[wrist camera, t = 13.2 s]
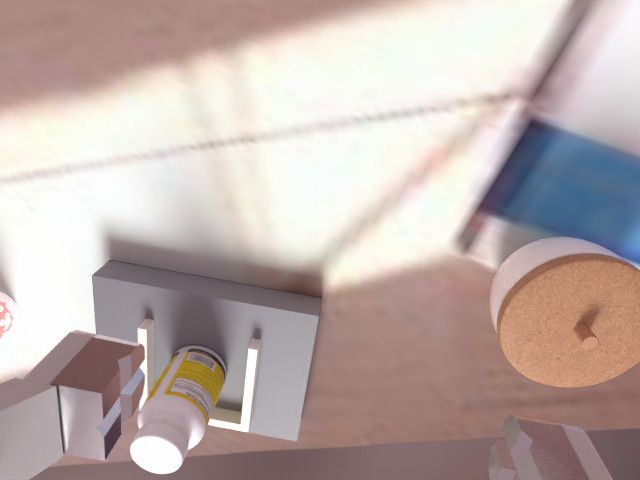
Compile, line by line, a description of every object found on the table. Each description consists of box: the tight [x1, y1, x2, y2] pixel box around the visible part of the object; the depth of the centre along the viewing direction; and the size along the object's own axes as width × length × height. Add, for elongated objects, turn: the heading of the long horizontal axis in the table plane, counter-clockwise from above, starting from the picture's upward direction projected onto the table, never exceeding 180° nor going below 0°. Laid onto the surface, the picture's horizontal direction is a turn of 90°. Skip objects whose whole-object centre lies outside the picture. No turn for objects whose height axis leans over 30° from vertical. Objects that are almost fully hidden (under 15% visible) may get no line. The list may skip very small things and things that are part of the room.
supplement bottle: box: [130, 346, 227, 474], centre depth 37 cm, size 5×5×10 cm
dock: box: [92, 260, 322, 441], centre depth 42 cm, size 20×15×4 cm
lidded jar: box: [490, 237, 640, 387], centre depth 34 cm, size 11×11×9 cm
